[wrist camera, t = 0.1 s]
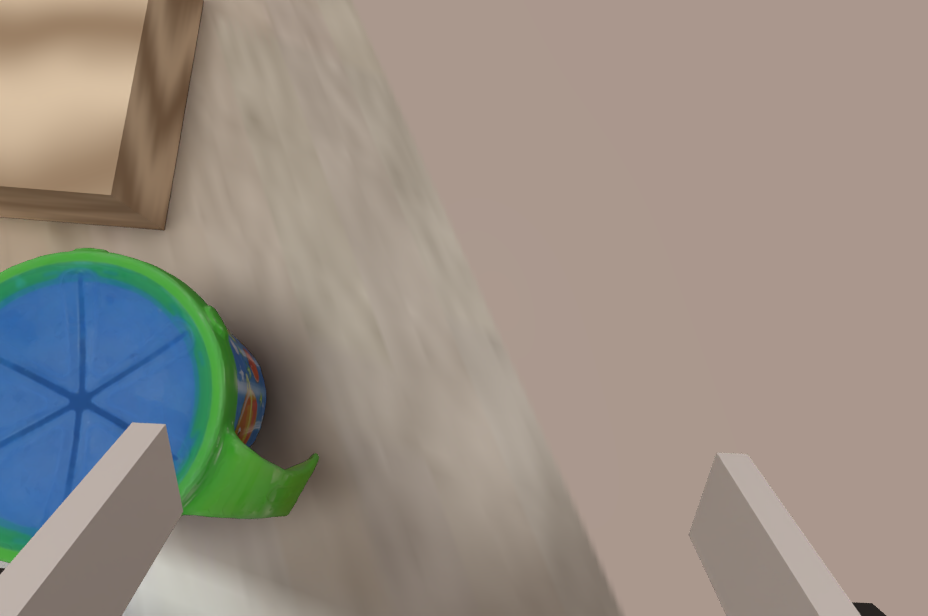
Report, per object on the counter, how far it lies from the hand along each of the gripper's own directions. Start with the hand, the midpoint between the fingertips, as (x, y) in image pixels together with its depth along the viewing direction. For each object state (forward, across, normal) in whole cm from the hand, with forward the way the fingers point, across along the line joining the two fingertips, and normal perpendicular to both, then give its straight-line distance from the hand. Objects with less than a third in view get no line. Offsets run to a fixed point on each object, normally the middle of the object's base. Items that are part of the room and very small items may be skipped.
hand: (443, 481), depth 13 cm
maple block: (+22, +22, -5) cm, 32 cm away
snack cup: (+13, +13, +8) cm, 20 cm away
